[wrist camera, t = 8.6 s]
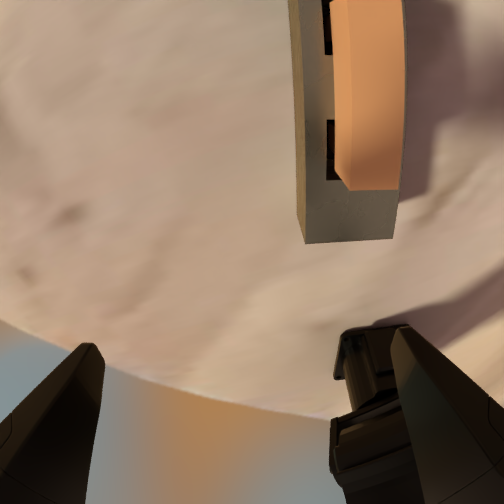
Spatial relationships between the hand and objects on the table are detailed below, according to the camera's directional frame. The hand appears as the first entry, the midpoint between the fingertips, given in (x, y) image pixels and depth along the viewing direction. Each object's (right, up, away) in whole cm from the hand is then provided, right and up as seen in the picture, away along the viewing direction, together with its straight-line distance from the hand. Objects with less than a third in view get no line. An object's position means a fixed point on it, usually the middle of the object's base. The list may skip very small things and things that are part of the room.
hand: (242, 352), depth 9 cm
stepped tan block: (+5, +12, +6) cm, 14 cm away
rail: (+5, +12, +7) cm, 14 cm away
